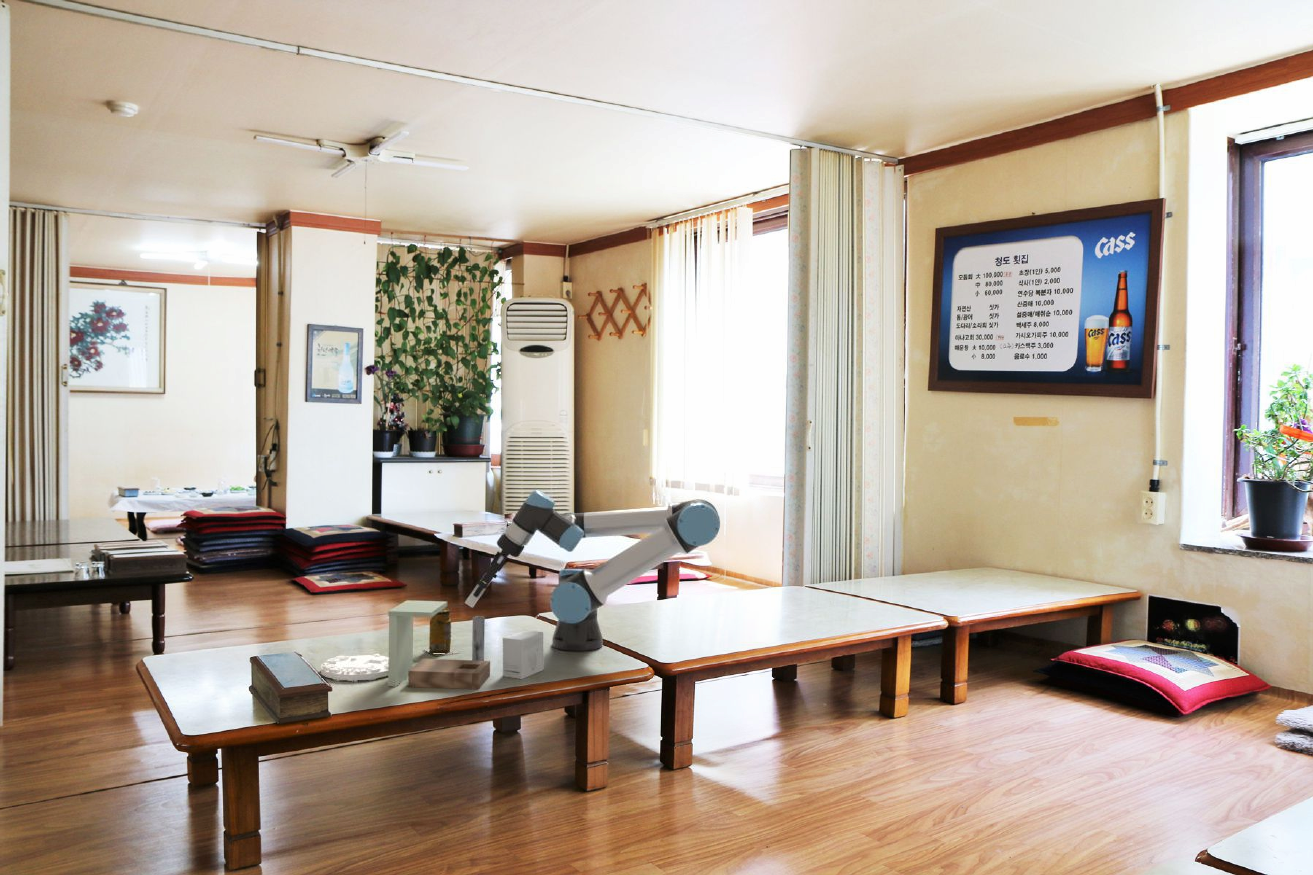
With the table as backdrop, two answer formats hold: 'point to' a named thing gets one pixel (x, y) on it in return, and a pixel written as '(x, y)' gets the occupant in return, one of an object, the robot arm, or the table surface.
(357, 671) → the white round plaque
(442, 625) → the condiment
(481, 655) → the peg
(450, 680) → the socket block
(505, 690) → the table surface
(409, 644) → the pale green angled bracket
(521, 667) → the skincare box
